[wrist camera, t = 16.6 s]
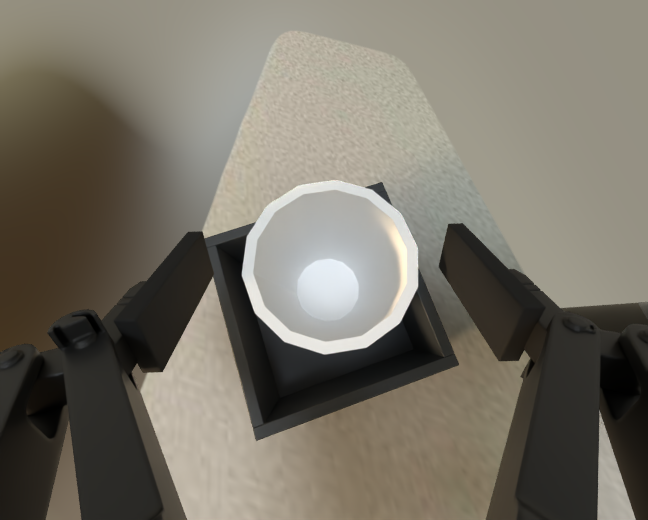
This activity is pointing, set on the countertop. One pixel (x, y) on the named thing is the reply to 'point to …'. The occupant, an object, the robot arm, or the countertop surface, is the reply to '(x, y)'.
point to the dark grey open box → (312, 367)
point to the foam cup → (330, 267)
